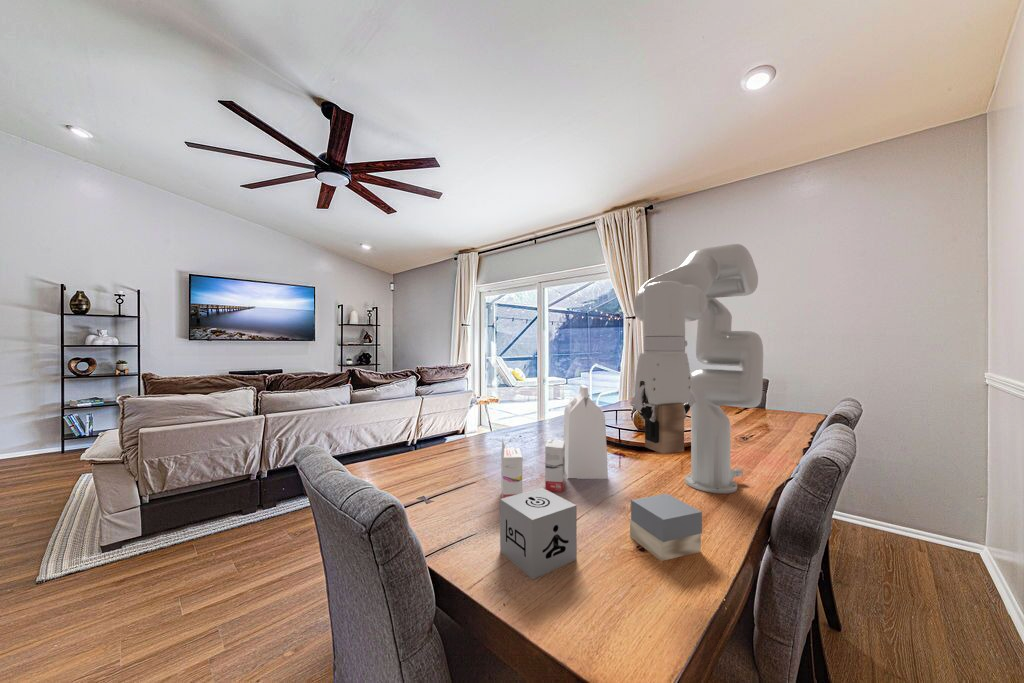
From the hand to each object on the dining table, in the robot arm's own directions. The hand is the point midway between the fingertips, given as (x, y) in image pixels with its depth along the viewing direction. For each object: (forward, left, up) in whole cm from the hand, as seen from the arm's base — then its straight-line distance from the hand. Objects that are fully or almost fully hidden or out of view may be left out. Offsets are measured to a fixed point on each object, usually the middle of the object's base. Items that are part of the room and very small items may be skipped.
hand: (664, 438), depth 73 cm
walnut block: (0, 0, -2) cm, 2 cm away
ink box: (+7, -34, -21) cm, 40 cm away
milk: (-6, -41, -21) cm, 46 cm away
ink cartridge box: (+21, -30, -21) cm, 42 cm away
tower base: (0, 0, -21) cm, 21 cm away
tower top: (0, 0, -17) cm, 17 cm away
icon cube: (+25, -5, -21) cm, 33 cm away
